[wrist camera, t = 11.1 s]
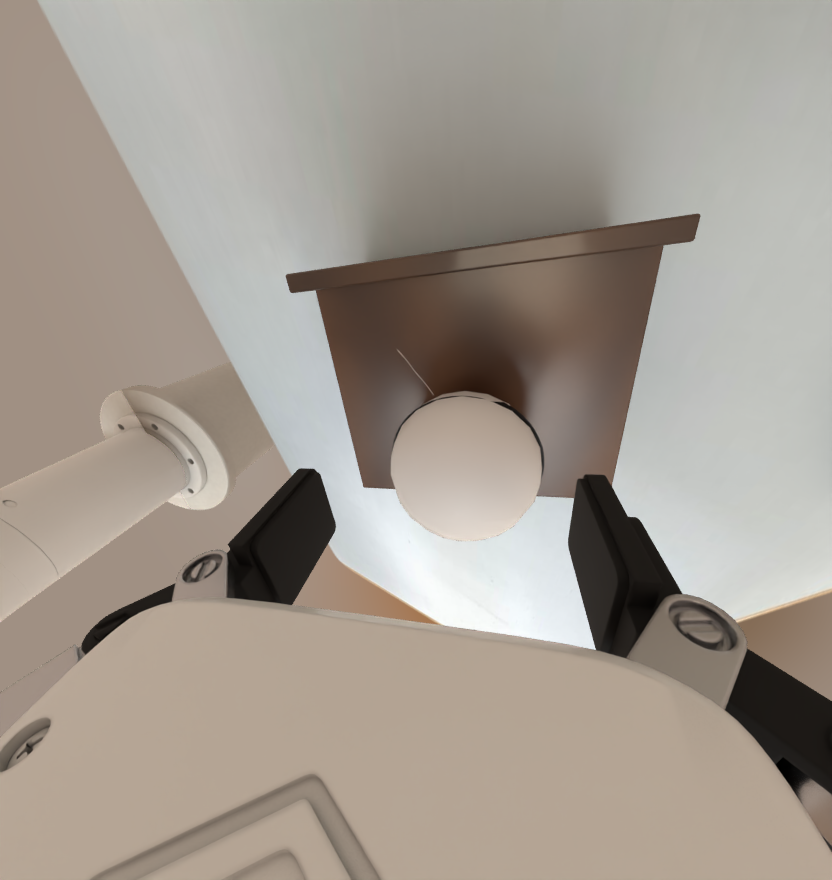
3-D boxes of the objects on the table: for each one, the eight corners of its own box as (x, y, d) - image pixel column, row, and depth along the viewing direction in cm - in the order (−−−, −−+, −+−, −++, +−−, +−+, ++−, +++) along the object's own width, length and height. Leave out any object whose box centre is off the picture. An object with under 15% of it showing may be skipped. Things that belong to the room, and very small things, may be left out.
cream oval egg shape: (545, 472, 19) (567, 574, 13) (430, 487, 22) (402, 579, 15) (514, 300, 15) (523, 330, 9) (377, 344, 18) (309, 391, 11)
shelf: (394, 436, 30) (350, 509, 21) (365, 268, 23) (284, 274, 14) (581, 437, 26) (621, 528, 17) (611, 233, 19) (702, 212, 10)
